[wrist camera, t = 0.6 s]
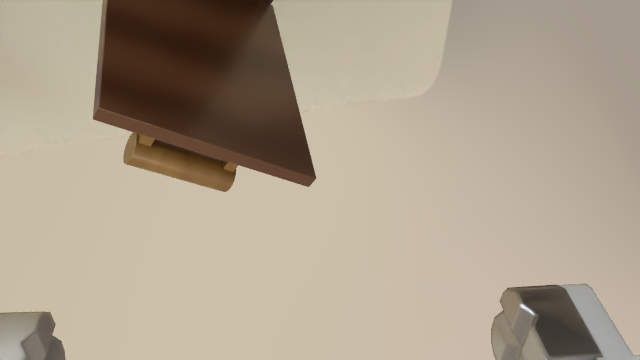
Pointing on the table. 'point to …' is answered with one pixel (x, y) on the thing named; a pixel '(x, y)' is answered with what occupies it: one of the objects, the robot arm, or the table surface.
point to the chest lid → (200, 90)
